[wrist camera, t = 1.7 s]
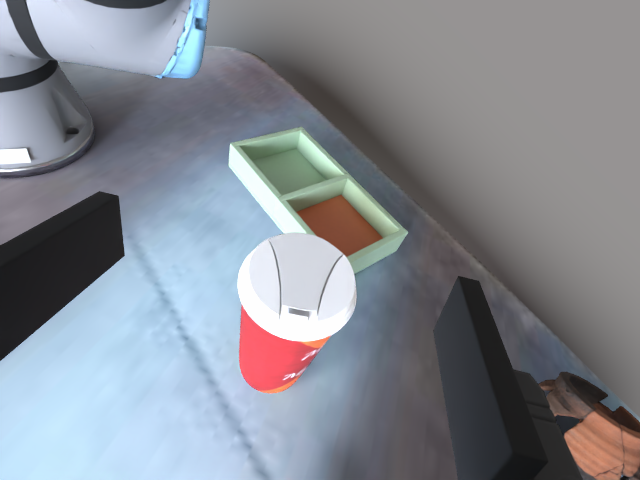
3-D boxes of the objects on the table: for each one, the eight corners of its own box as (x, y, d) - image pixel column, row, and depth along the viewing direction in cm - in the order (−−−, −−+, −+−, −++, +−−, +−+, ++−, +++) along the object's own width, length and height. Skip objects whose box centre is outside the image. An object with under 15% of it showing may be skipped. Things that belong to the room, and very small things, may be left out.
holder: (228, 165, 48) (229, 142, 45) (296, 147, 54) (301, 126, 51) (328, 288, 40) (337, 269, 37) (396, 251, 46) (408, 232, 43)
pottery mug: (486, 439, 34) (542, 372, 31) (515, 413, 41) (563, 356, 38) (632, 584, 26) (721, 512, 24) (637, 521, 33) (707, 460, 31)
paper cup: (309, 413, 31) (364, 341, 21) (217, 399, 30) (225, 317, 20) (316, 328, 36) (362, 237, 26) (237, 314, 35) (252, 213, 25)
